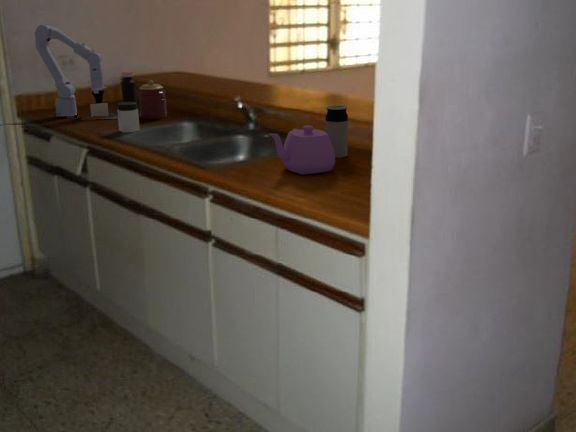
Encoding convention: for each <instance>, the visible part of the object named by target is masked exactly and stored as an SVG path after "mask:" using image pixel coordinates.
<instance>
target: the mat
mask: <svg viewBox="0 0 576 432" xmlns="http://www.w3.org/2000/svg"><path fill="white" fill-rule="evenodd" d="M110 114H111V115H110V116H105V117H104V118H101V119H111V120H118V114H114V113H110Z"/></svg>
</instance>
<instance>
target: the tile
mask: <svg viewBox="0 0 576 432" xmlns="http://www.w3.org/2000/svg"><path fill="white" fill-rule="evenodd" d="M89 106H90V107H89V108H90V114H91V117H93V116H109V114H110V113H109V104H108V103H107V102H106V103H103V102H102V103H100V104H96V103H90V104H89Z"/></svg>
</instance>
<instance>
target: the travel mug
mask: <svg viewBox="0 0 576 432" xmlns="http://www.w3.org/2000/svg"><path fill="white" fill-rule="evenodd" d="M325 108H326V109H327V113H326V114H325V132H326V133H327V134H328V136H329V138H330V141H331V143H332V146H333V149H334V154H335V159H342V158H345V157H347V156H348V144H349V143H348V136H349V135H348V131H349V130H348V129H349V128H348V127H349V126H348V125H349V114H348V113H347V109H348V106H347V105H344V104H330V105H327V106H326V107H325Z"/></svg>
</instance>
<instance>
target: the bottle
mask: <svg viewBox="0 0 576 432" xmlns="http://www.w3.org/2000/svg"><path fill="white" fill-rule="evenodd" d="M121 75H122V81H121V82H120V87H121V96H122V97H121V99H122V102H136V103H137V104H138V102H137V101H138V100H137V90H136V82H135V81H134V80H133V72H132V71H122V72H121Z"/></svg>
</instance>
